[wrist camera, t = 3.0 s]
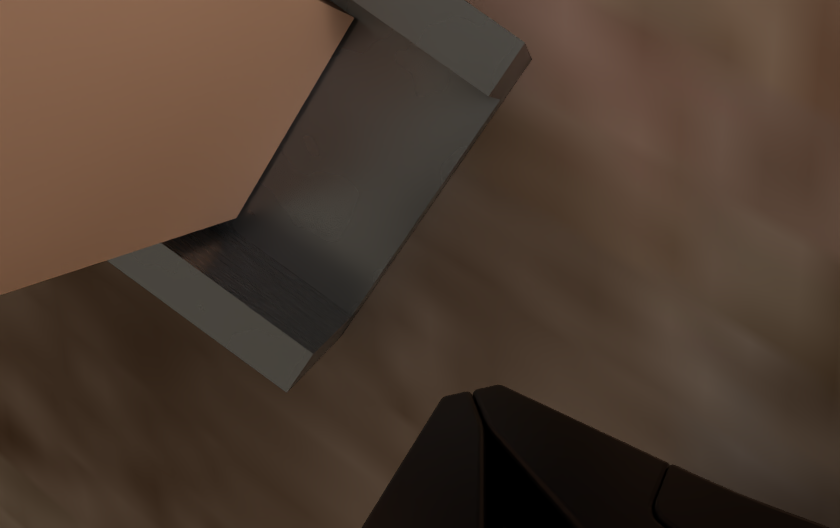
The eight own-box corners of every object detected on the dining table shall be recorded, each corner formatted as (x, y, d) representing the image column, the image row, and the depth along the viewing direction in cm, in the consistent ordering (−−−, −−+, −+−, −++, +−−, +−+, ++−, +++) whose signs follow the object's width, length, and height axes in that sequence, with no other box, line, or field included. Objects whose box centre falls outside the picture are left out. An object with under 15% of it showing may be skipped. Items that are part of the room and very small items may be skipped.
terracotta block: (354, 17, 16) (-154, -225, 5) (236, 218, 18) (-349, 408, 6) (155, -124, 16) (-816, -700, 5) (57, 88, 18) (-825, 43, 6)
